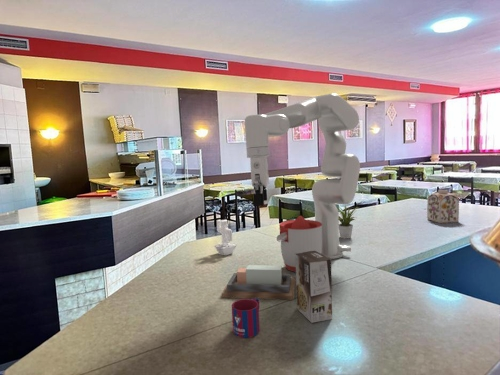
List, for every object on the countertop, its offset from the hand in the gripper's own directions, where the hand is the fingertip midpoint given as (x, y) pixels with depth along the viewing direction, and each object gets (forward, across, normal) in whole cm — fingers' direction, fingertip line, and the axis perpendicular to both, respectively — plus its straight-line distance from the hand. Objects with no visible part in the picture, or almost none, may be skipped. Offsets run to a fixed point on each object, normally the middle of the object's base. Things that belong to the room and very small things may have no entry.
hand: (261, 203), depth 114 cm
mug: (+26, -33, 0) cm, 42 cm away
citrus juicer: (+28, +10, -12) cm, 32 cm away
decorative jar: (+31, +93, -93) cm, 135 cm away
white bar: (+25, -9, +1) cm, 27 cm away
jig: (+26, -9, +1) cm, 28 cm away
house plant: (+29, +57, -35) cm, 73 cm away
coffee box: (+27, -25, -16) cm, 40 cm away
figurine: (+27, +28, +21) cm, 44 cm away
